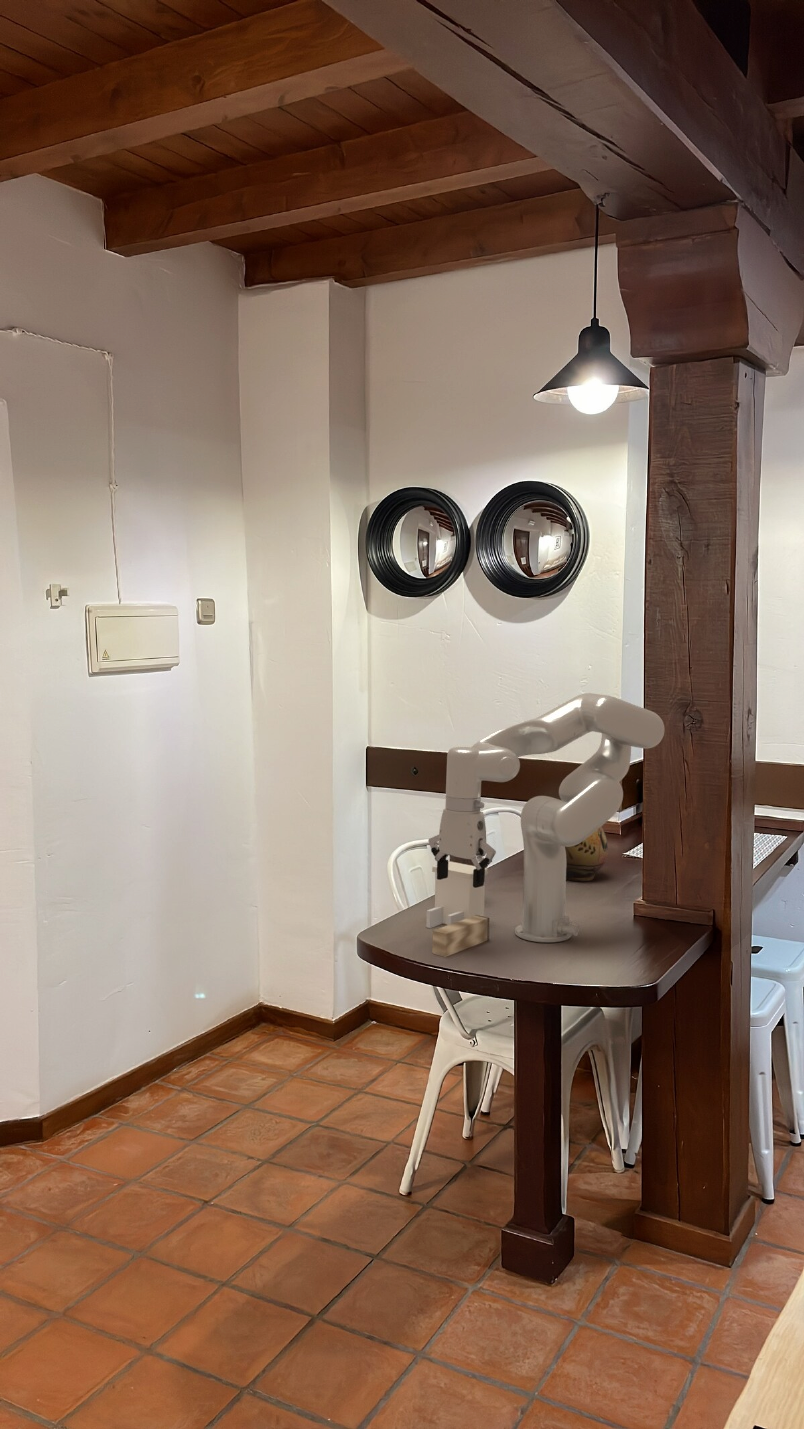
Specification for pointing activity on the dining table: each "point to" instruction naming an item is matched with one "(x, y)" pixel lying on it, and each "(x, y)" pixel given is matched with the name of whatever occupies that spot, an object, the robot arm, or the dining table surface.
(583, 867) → the ceramic jug
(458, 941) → the wooden block
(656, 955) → the dining table surface
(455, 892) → the white upright pillar
